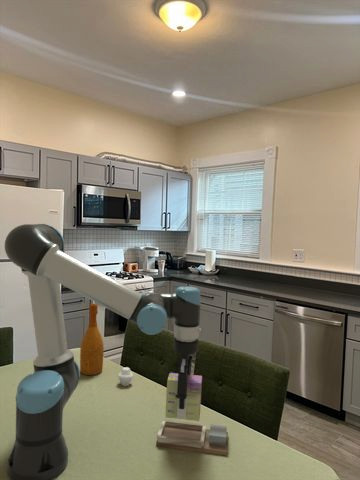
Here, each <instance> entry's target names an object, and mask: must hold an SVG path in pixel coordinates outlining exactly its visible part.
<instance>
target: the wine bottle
mask: <svg viewBox="0 0 360 480" xmlns="http://www.w3.org/2000/svg"><path fill="white" fill-rule="evenodd" d="M88 314H89V322H88V323H89V324H88V326H87V328H86V331H85V333H84V335H83V338H82V340H81V343H80V351H79V353H80V356H79V357H80V358H79V359H80V360H79V370H80V374H83V375H86V376H94V375H98V374H100V373H101V372H102V371H103V365H104V352H105V351H104V350H105V349H104V341H103V337H102V334H101V333H100V330H99V327H98V322H97V321H98V320H97V314H98V303H90V304H89V312H88Z"/></svg>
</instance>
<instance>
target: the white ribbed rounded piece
mask: <svg viewBox="0 0 360 480" xmlns="http://www.w3.org/2000/svg"><path fill="white" fill-rule="evenodd" d="M117 378H118V380H119V382H120V384H121V386H124V387H126V386H130V384H131V382H132V381H133V378H134V373H133V372H132V371H131V368H130V367H128V366H126V367H123V368H122V369H121V371H120V372H119V373H118V375H117Z"/></svg>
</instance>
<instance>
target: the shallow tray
mask: <svg viewBox="0 0 360 480" xmlns="http://www.w3.org/2000/svg"><path fill="white" fill-rule="evenodd" d="M227 427H228V426H227V425H221V424H214V423H213V424H212V423H211V424H210V426H209V429H207V426H205V424H204V423H196V422H195V423H194V422H189V421H181V420H173V419H164V420H162V422H161V423H160V426H159V429H158V432H157V435H156V437H157V438H156V443H155V447H163V448H169V449H177V450H184V451H191V452H199V453H205V454H212V455H220V456H228V446H229V444H228V443H229V440H228V439H229V433H228V431H227V429H228V428H227Z"/></svg>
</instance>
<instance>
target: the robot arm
mask: <svg viewBox="0 0 360 480" xmlns="http://www.w3.org/2000/svg"><path fill="white" fill-rule="evenodd" d="M62 234H63V233H61V232H60V231H59V230H58V229H57V228H55V227H54V226H52V225H49V224H46V223H35V224H33V223H31V224H27V223H25V224H20V225H18V226H16V227H14V228H13V229H11V230H10V231H9V232H8V234H7V235H6V238H5V240H4V251H5V255H6V256H7V257H8V259H9V261H10V262H12V264H14V265H16V266H17V267H19V268H20V269H21V273H23V274H24V275H25V276H26V277H27V279H28V285H29V286H28V287H29V295H30V301H31V302H30V303H31V304H30V305H31V310H32V319H33V328H34V335H35V343H36V344H35V345H36V352H37V355H36V358H34V360H33V361H32V365H33V373H32V374H28V375H25V376H24V377H23V378H22V379H21V381H20V382H19V383H18V385H17V389H16V395H15V405H16V406H15V440H14V443H13V447H12V448H11V451H10V454H9V457H8V460H7V464H6V465H7V466H6V467H7V468H6V469H7V470H6V472H7V475H8V477H9V479H10V480H52V479H54V478H56V477H57V476H58V475H60V474H61V473H62V472H63V471H64V470H66V467H67V466H68V462H69V450H68V447H67V444H66V440H65V437H64V434H63V420H64V419H63V416H64V415H63V414H64V408H65V407H66V405H67V403H68V401H69V399H71V397H72V395H73V393H74V392H75V391H76V389H77V386H78V385H79V381H80V379H81V378H80V376H81V371H80V365H79V364H78V363H77V361H75V356H74V352H73V351H71V350H70V349H68V344H67V343H68V342H67V333H66V332H67V331H66V326H65V325H66V324H65V317H64V310H63V309H64V308H63V300H62V293H61V285H62V286H63V287H65V288H68V289H69V290H72V291H74V292H75V293H77V294H79V295H80V296H81V295H82V296H83V297H84V298H87V299H88V300H91V301H93V302H95V304H97V305H100V306H102V307H103V308H106V309H107V310H109V311H112V312H113V313H116V314H117V315H119V316H121V317H123V318H125V319H127V320H128V321H131V323H134V324H136V325H137V327H138V328H139V330H140V331H141V332H142V333H144V334H146V335H149V336H150V335H151V336H152V335H157V334H160V333H161V332H162V331H163V330H164V329H165V327H166V324H167V321H168V320H169V319H170V320H171V319H174V327H173V328H174V330H173V331H174V332H173V333H174V334H173V336H174V340H173V350H174V351H175V352H176V353H178V354H179V357H178V360H177V363H178V366H177V373H178V388H177V395H175V397H177V398H178V405H177V418H181V419H180V420H185V419H186V411H187V382H188V375H192V363H193V358H194V356H193V355H195V354H196V353H198V351H199V342H200V341H199V337H200V332H202V329H201V327H200V321H201V320H200V319H201V317H200V316H201V305H202V304H201V290H200V289H199V287H194V286H186V285H185V286H179V287H177V288H176V290H175V292H174V293H165V292H164V293H163V292H150V291H146V292H139V291H137V290H135V289H133V288H131V287H130V286H127V285H126V284H124V283H121V281H118V280H117V279H114V278H113V277H110V276H109V275H107V274H105V273H103V272H101V271H100V270H98V269H95V268H93V267H92V266H90V265H89V264H86V263H84V262H82V261H80V260H79V259H77V258H75V257H73V256H72V255H69V254H67V252H66V253H65V252H64V250H65V239H64V236H63V235H62Z"/></svg>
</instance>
